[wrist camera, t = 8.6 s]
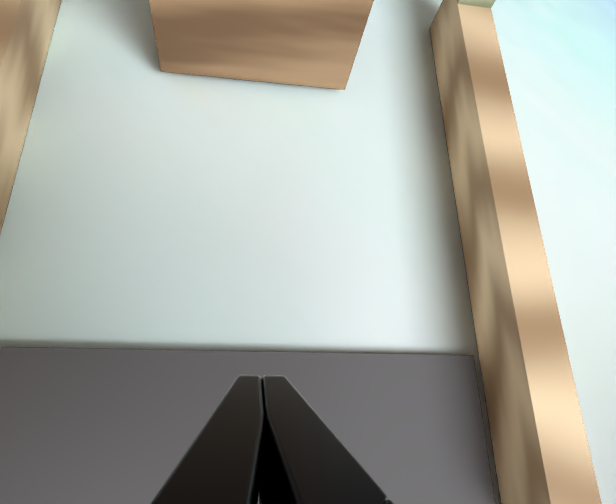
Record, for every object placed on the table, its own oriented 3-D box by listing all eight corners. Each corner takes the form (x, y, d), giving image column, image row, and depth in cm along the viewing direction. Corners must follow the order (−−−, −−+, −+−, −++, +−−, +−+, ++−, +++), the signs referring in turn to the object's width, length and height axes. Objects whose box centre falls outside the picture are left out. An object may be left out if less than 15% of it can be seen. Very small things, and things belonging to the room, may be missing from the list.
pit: (493, 527, 20) (498, 528, 19) (-67, 548, 17) (-73, 550, 16) (469, 357, 23) (473, 355, 22) (-17, 348, 20) (-21, 346, 19)
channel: (548, 525, 20) (621, 540, 16) (-148, 551, 16) (-258, 579, 13) (458, 31, 31) (490, -26, 27) (28, -22, 27) (-3, -97, 24)
